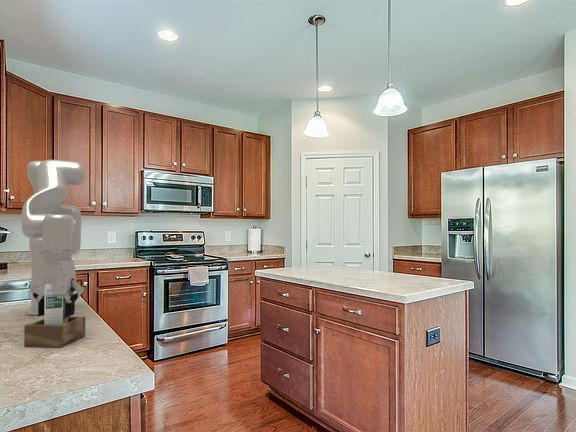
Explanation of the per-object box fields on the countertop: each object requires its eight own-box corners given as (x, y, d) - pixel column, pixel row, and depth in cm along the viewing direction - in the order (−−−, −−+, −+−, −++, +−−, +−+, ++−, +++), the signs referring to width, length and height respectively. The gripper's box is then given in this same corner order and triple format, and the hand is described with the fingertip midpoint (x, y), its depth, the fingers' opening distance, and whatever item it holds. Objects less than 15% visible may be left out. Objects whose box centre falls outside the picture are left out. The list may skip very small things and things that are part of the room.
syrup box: (43, 336, 106) (44, 285, 106) (45, 330, 111) (46, 282, 111) (66, 333, 108) (67, 283, 109) (67, 328, 114) (68, 280, 114)
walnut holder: (52, 335, 115) (52, 316, 115) (85, 336, 114) (85, 316, 114) (24, 346, 104) (24, 325, 105) (60, 348, 103) (60, 326, 104)
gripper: (19, 256, 107) (18, 317, 107) (76, 257, 105) (75, 319, 105) (39, 254, 115) (38, 311, 114) (92, 255, 113) (91, 313, 113)
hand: (56, 315), depth 110 cm, fingers closed on syrup box, 7 cm apart
